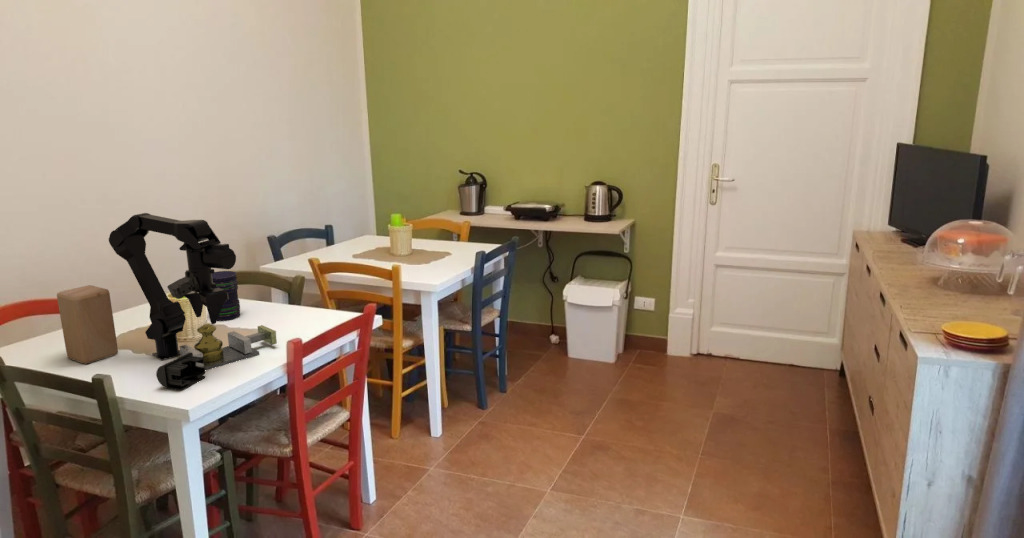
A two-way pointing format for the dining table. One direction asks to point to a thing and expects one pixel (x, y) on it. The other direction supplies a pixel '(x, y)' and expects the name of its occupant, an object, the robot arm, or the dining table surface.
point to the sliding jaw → (251, 339)
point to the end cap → (181, 372)
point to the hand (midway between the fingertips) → (206, 320)
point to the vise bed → (229, 357)
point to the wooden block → (87, 323)
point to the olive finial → (209, 344)
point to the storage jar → (229, 284)
